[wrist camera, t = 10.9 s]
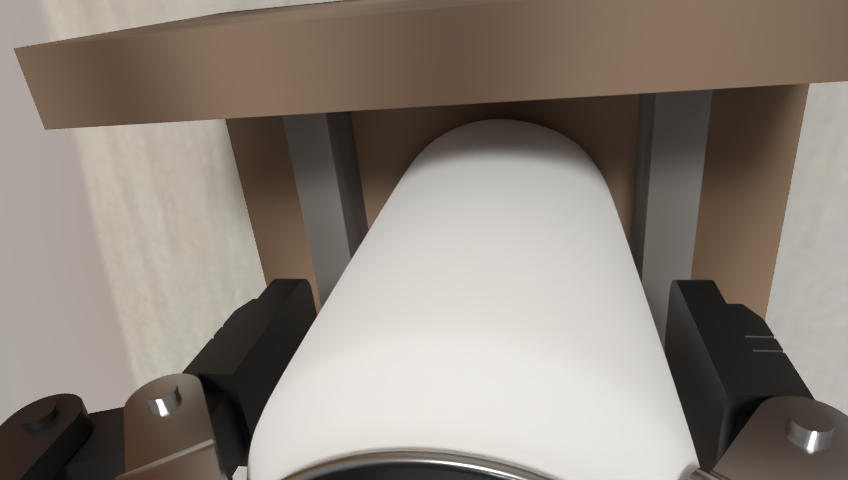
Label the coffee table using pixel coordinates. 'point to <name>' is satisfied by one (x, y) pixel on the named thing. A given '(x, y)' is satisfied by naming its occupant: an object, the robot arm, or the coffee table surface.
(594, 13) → the wall board
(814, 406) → the robot arm
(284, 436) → the can
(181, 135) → the coffee table surface
